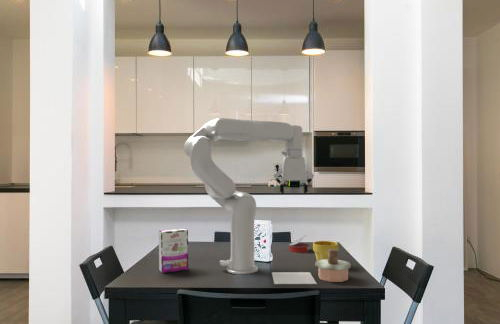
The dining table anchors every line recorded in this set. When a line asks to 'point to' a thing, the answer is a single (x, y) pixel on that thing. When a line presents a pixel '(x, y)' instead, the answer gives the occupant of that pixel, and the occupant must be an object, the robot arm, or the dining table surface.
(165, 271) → the candy bar box
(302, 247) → the canned food
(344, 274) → the bowl
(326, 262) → the lid
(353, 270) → the dining table surface
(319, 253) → the plant pot
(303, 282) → the square white plate
